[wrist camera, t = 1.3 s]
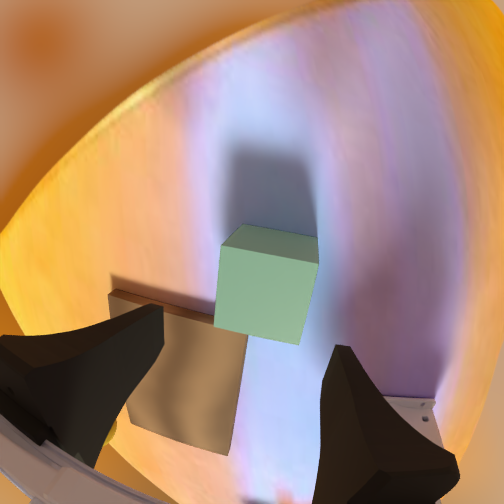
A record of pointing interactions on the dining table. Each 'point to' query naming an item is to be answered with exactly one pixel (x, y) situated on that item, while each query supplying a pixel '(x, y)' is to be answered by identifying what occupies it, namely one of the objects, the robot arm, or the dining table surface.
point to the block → (266, 283)
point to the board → (188, 378)
